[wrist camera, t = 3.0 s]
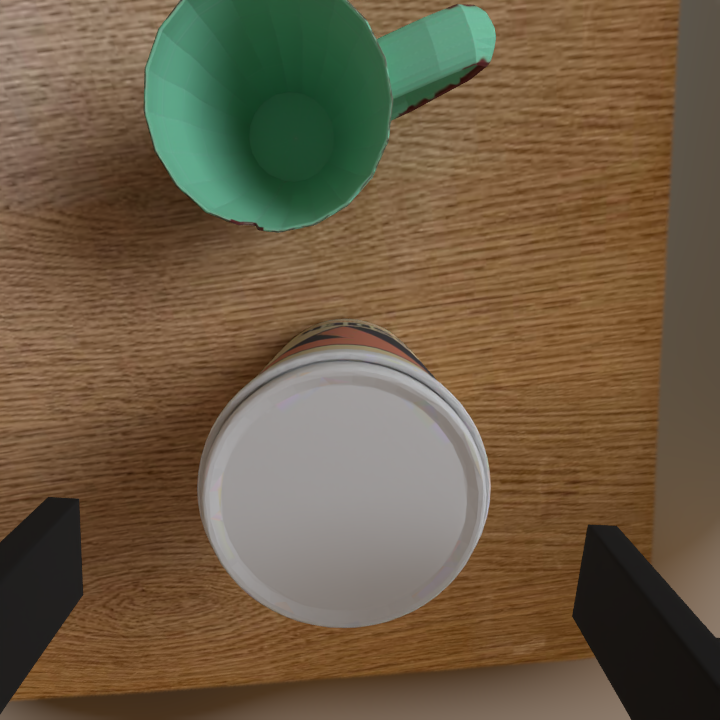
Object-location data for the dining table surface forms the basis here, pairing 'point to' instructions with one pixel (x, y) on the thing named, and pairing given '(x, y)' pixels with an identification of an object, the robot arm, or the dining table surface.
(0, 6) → the dining table surface
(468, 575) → the dining table surface
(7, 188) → the dining table surface
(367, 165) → the mug
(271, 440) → the coffee cup
